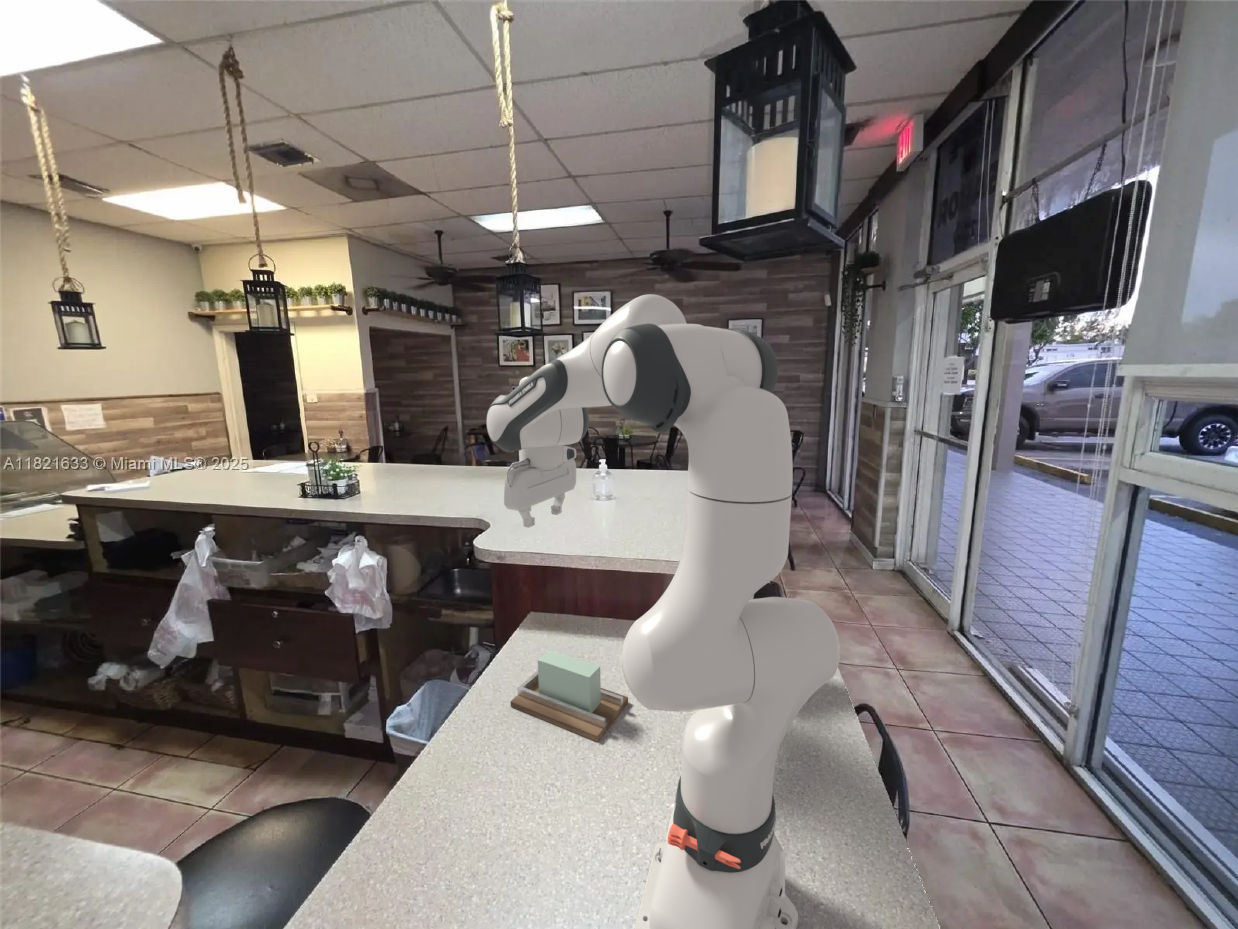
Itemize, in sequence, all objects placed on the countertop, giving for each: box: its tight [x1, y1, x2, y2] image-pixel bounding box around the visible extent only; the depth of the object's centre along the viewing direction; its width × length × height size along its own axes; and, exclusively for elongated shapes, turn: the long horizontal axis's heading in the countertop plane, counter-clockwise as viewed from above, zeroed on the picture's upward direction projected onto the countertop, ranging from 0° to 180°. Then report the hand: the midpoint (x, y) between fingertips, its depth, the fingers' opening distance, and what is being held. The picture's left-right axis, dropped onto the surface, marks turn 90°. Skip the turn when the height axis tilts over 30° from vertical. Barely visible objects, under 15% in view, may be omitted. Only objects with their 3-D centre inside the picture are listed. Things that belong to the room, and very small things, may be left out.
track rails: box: [517, 670, 623, 728], centre depth 98 cm, size 8×20×2 cm, turn 62°
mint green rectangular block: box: [537, 649, 602, 713], centre depth 97 cm, size 4×12×8 cm, turn 62°
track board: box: [510, 680, 629, 742], centre depth 98 cm, size 12×20×1 cm, turn 62°
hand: (543, 519), depth 104 cm, fingers open, 8 cm apart
